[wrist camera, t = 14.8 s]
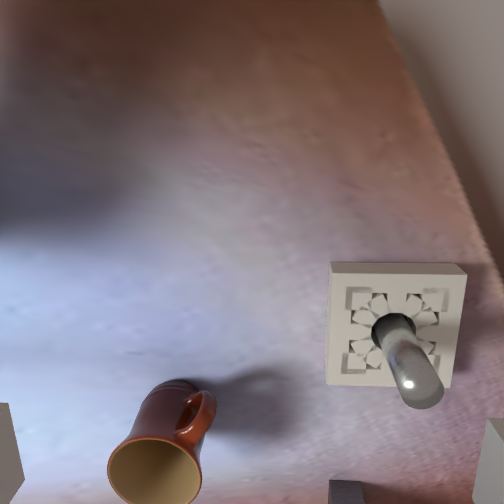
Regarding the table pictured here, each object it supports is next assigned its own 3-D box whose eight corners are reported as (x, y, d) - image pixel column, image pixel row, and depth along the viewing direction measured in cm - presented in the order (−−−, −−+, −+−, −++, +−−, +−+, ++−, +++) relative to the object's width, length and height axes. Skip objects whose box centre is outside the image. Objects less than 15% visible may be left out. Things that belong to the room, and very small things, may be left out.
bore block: (324, 367, 48) (327, 384, 45) (329, 262, 44) (332, 273, 41) (439, 370, 47) (449, 388, 44) (455, 263, 43) (467, 274, 40)
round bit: (369, 332, 46) (399, 408, 35) (372, 304, 45) (403, 372, 34) (401, 333, 46) (441, 409, 34) (404, 304, 45) (446, 374, 33)
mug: (184, 448, 52) (162, 527, 43) (124, 404, 51) (88, 476, 41) (252, 385, 49) (245, 455, 39) (190, 336, 47) (167, 397, 38)
